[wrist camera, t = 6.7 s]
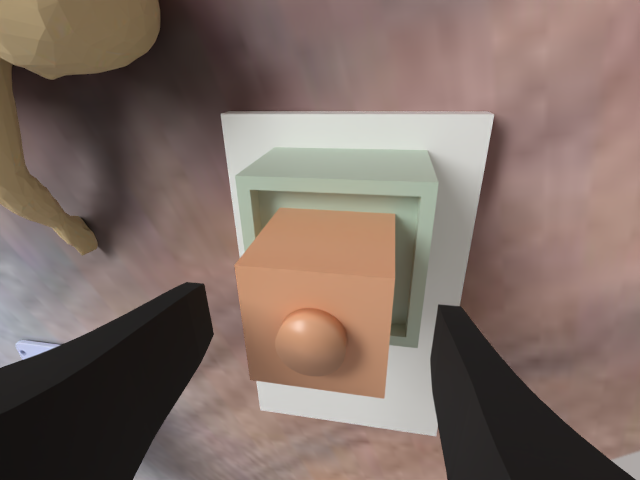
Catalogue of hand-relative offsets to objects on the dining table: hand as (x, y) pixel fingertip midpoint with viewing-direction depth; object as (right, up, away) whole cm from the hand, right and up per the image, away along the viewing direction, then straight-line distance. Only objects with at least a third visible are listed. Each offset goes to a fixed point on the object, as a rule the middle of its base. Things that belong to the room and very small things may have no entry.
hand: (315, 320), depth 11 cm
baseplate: (+2, -1, +10) cm, 10 cm away
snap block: (+1, +2, +3) cm, 4 cm away
